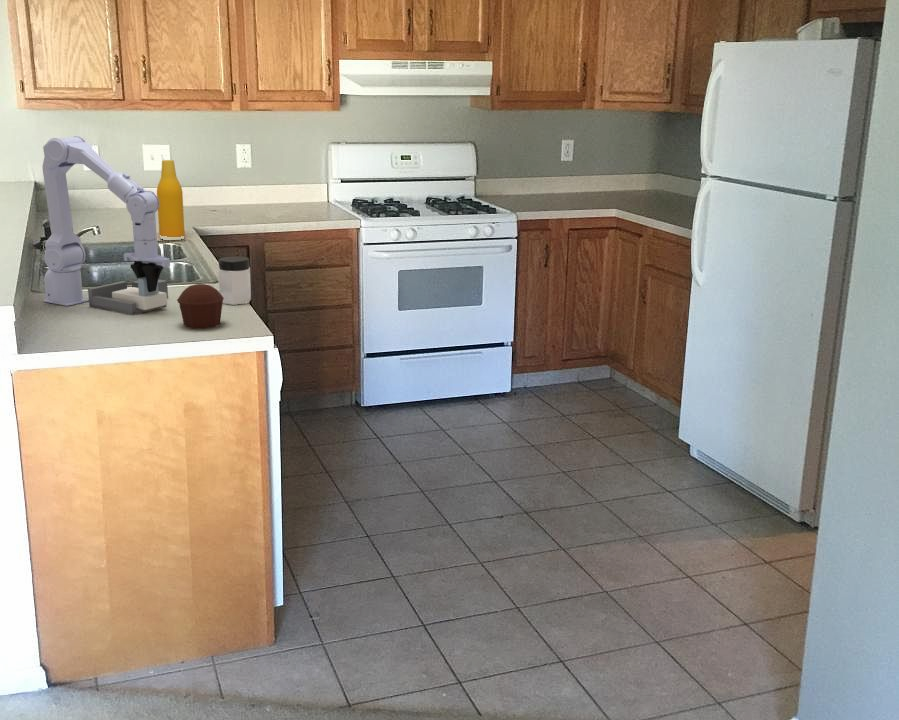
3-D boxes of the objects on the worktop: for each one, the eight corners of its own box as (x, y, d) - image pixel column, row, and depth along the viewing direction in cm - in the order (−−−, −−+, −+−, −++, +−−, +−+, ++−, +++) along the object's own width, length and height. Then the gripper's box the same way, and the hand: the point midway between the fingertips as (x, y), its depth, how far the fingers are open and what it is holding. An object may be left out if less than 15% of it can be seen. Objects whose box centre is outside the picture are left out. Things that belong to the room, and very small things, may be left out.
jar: (223, 297, 273) (221, 255, 270) (252, 298, 274) (251, 256, 270) (217, 305, 265) (215, 261, 261) (247, 305, 265) (246, 262, 262)
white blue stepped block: (112, 303, 257) (110, 275, 255) (134, 298, 264) (132, 270, 262) (145, 310, 252) (143, 280, 250) (167, 304, 258) (165, 276, 256)
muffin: (183, 318, 250) (181, 280, 247) (227, 318, 250) (226, 280, 248) (174, 330, 238) (172, 290, 235) (220, 330, 239) (218, 290, 236)
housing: (89, 307, 259) (87, 288, 258) (143, 294, 275) (142, 276, 274) (132, 315, 252) (131, 296, 250) (186, 301, 268) (185, 283, 266)
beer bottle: (169, 236, 371) (165, 158, 362) (190, 238, 367) (186, 160, 359) (154, 239, 362) (149, 160, 354) (175, 241, 359) (170, 162, 351)
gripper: (113, 238, 251) (117, 289, 255) (154, 244, 244) (157, 296, 248) (134, 234, 257) (137, 285, 261) (174, 240, 250) (177, 292, 254)
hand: (148, 290), depth 255 cm, fingers closed on white blue stepped block, 2 cm apart
